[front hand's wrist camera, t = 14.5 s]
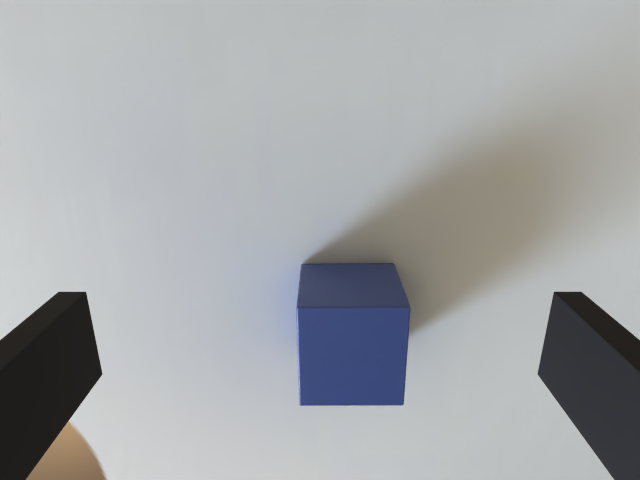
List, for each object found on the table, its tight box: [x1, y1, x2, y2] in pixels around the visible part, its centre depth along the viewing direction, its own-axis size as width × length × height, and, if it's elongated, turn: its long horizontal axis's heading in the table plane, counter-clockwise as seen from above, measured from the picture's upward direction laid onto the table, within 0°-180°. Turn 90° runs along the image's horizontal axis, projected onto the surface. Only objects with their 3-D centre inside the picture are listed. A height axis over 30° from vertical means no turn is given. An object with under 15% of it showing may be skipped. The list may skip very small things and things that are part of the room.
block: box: [297, 264, 410, 406], centre depth 19 cm, size 5×4×4 cm
